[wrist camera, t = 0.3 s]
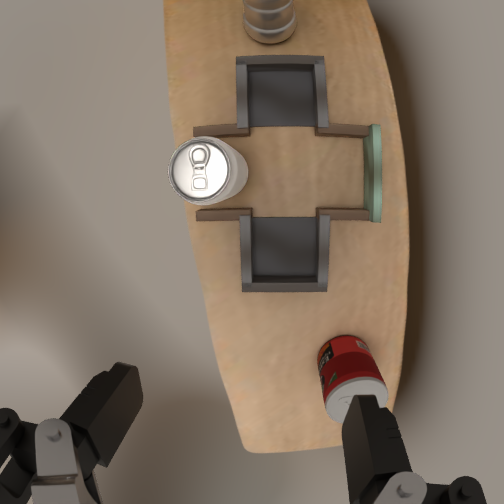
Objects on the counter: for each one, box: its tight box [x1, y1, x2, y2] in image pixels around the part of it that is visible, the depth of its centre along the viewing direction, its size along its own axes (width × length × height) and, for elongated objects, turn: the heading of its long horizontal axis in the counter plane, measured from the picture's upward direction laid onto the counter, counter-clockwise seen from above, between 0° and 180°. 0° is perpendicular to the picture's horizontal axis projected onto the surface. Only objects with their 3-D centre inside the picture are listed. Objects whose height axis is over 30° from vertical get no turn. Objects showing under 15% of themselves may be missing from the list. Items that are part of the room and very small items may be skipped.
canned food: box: [317, 336, 388, 423], centre depth 35 cm, size 8×8×11 cm
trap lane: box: [193, 55, 382, 292], centre depth 33 cm, size 29×22×4 cm
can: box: [168, 136, 248, 205], centre depth 30 cm, size 6×6×12 cm
